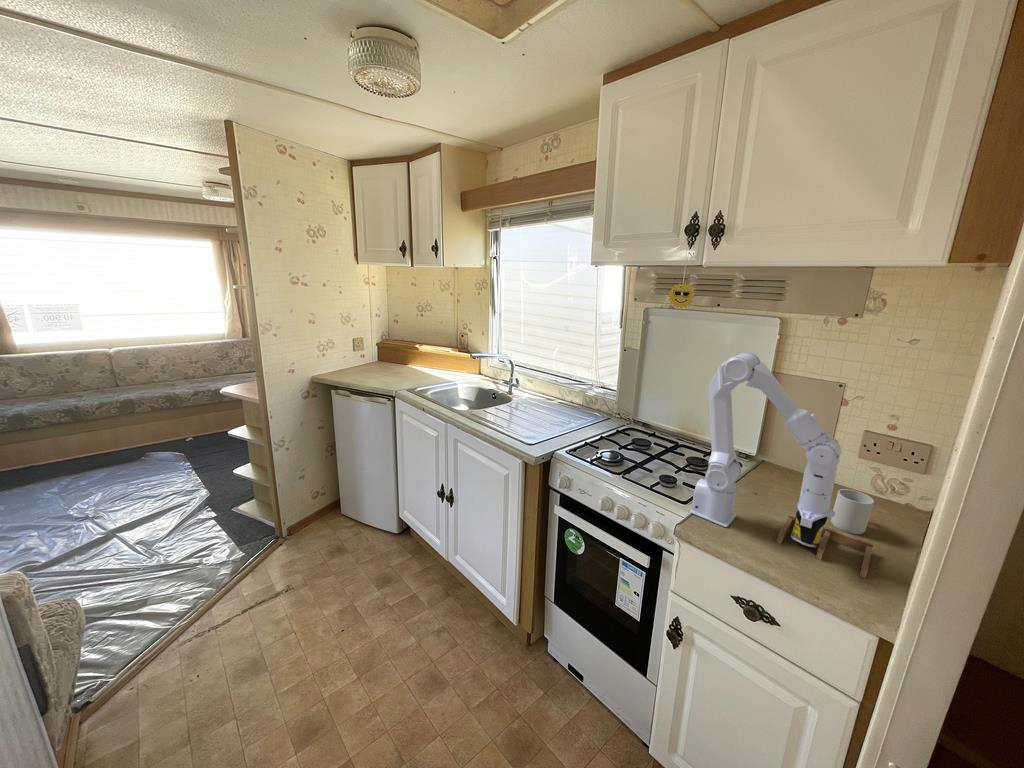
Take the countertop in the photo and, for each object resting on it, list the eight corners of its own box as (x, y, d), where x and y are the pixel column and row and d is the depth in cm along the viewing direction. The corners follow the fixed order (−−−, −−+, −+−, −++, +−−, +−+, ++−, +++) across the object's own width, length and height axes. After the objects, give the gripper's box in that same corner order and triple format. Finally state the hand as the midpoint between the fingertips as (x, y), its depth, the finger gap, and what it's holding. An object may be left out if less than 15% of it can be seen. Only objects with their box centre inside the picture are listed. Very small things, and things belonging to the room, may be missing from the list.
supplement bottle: (785, 535, 103) (797, 498, 102) (801, 538, 105) (813, 501, 104) (805, 546, 98) (817, 507, 97) (822, 549, 99) (834, 510, 99)
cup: (828, 526, 109) (837, 496, 107) (832, 511, 116) (840, 482, 114) (864, 538, 105) (873, 507, 102) (865, 521, 112) (874, 492, 109)
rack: (776, 542, 102) (778, 533, 101) (787, 522, 110) (789, 514, 110) (865, 577, 91) (868, 568, 90) (870, 552, 99) (873, 543, 98)
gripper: (833, 507, 88) (821, 563, 91) (843, 484, 98) (832, 536, 101) (793, 495, 93) (784, 549, 96) (807, 475, 103) (798, 524, 106)
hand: (806, 542), depth 99 cm, fingers closed, pressing on supplement bottle
